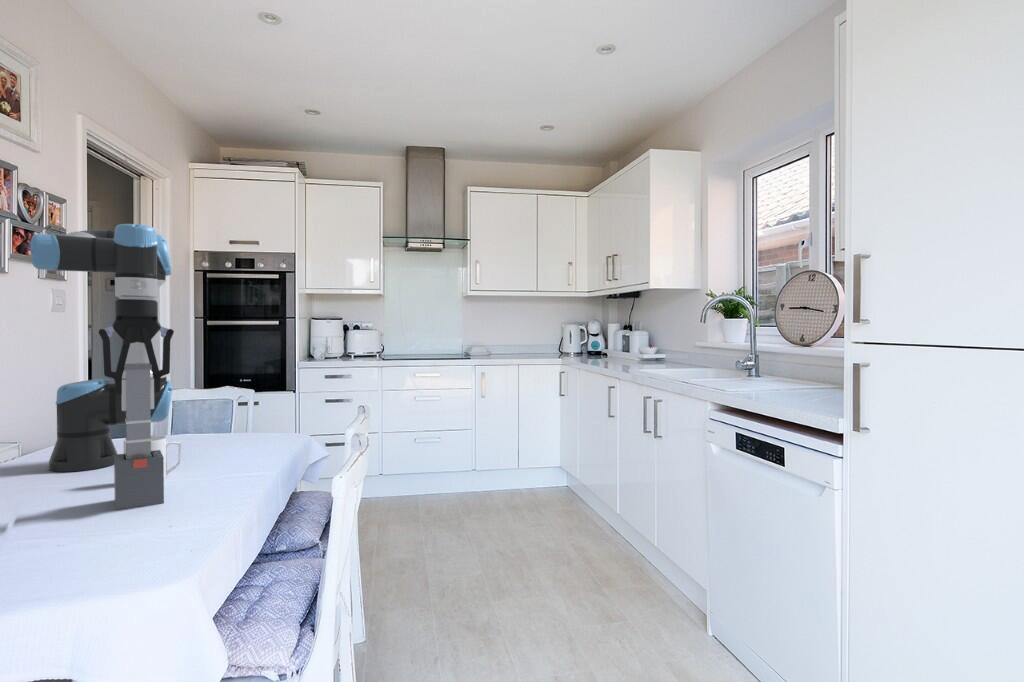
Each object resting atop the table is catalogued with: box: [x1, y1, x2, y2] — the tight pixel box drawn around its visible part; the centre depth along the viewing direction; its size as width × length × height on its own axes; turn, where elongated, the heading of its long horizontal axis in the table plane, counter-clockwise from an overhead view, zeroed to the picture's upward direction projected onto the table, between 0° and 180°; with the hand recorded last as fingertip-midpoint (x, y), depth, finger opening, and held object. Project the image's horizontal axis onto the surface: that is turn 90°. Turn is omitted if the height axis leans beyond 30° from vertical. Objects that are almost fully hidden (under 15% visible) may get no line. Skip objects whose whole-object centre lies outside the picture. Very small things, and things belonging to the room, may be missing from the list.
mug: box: [123, 434, 182, 480], centre depth 141 cm, size 12×9×11 cm
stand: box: [113, 450, 165, 512], centre depth 122 cm, size 12×16×11 cm
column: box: [124, 363, 152, 460], centre depth 122 cm, size 5×5×22 cm
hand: (138, 408), depth 122 cm, fingers closed on column, 4 cm apart
